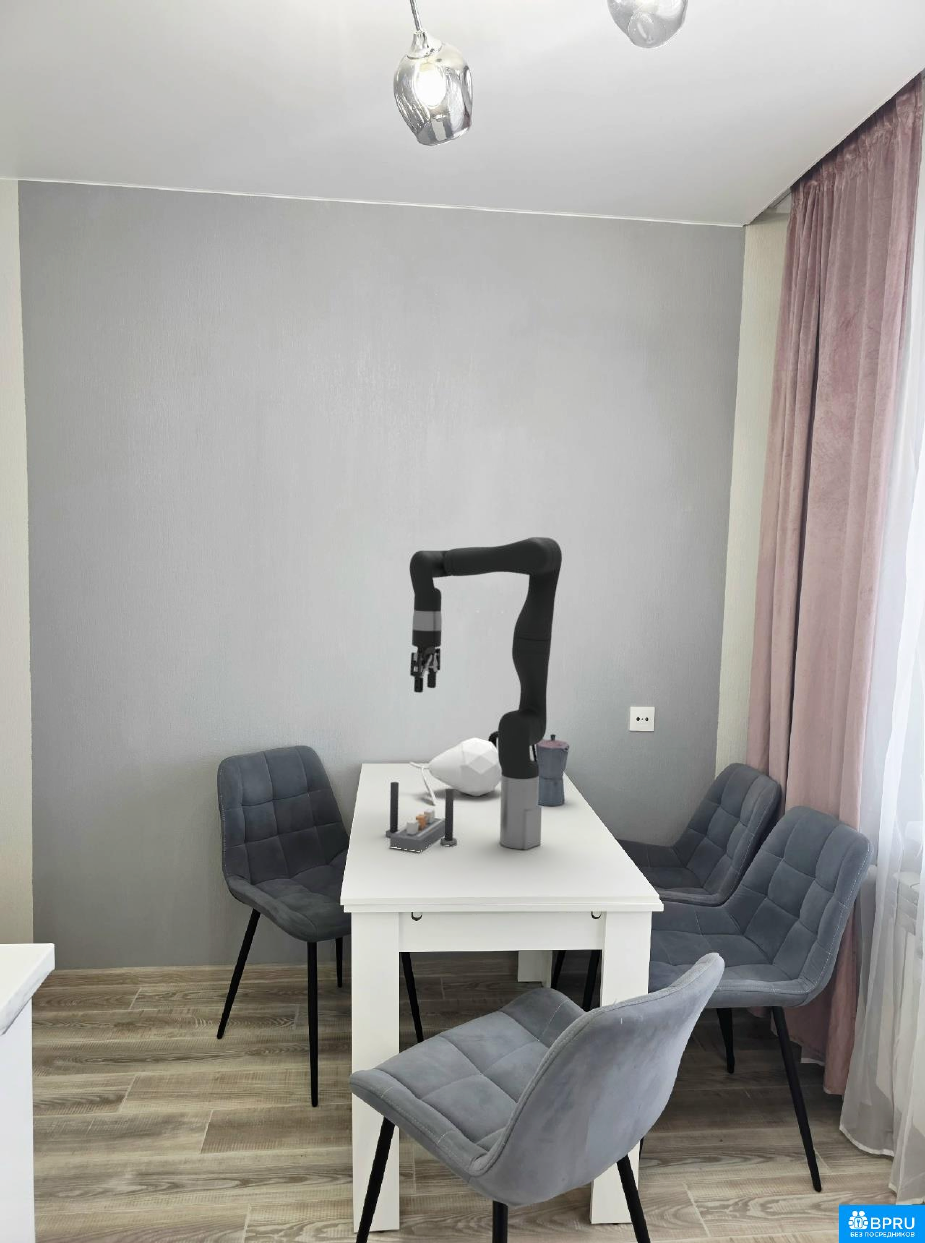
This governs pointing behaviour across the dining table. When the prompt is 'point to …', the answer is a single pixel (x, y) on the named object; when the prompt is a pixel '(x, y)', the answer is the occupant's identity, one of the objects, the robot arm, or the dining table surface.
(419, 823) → the white and orange bar
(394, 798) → the dark grey lever handle
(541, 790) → the moka pot
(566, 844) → the dining table surface
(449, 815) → the dark grey cylinder
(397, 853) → the dining table surface
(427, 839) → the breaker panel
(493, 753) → the pear ornament
